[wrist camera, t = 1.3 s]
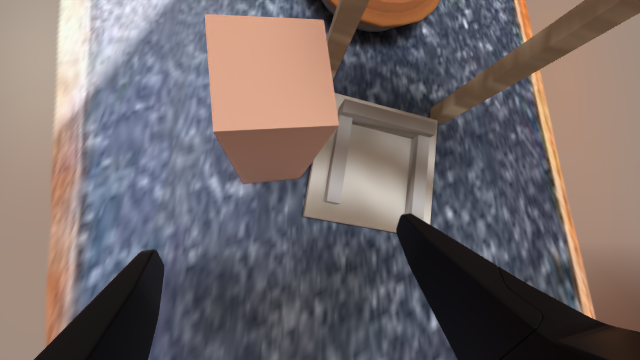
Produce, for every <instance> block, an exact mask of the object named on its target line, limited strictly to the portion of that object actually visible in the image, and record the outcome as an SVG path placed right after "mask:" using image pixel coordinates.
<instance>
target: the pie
mask: <svg viewBox="0 0 640 360" xmlns="http://www.w3.org/2000/svg"><path fill="white" fill-rule="evenodd" d="M439 1H440V0H370V1H369V3H368V5H367V7H366V9H365V11H364V13H363V16H362V18H361V20H360V22H359V24H358V26H357V29H359V30H363V31H366V32H382V31H385V30H388V29H391V28H395V27H399V26H402V25H407V24H411V23H415V22H420V21H422V20H423V19H424V18H425V17H426V16H428V15H429V14H430V13H431V12H432V11H433V10H435V8H436V6H437V5H438V3H439ZM322 2H323V3H324V5H325V6H326V8H327V9H328V10H329V11H330V12H331V13H332V14H333V15H334V14H335V11H336V8H337V5H338V2H339V0H322Z"/></svg>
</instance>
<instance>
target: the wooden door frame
mask: <svg viewBox="0 0 640 360" xmlns="http://www.w3.org/2000/svg"><path fill="white" fill-rule="evenodd" d="M369 1H370V0H339V2H338V5H337V8H336V11H335V14H334V17H333V20H332V23H331V26H330V29H329V32H328V35H327V38H326V39H327V45H328V52H329V59H330V66H331V73H332V80H333V78H334V76H335V74H336V72H337V70H338V68H339V65H340V63H341V61H342V59H343V57H344V55H345V52H346V50H347V48H348V46H349V44H350V42H351V39H352V37H353V35H354V33H355V31H356V29H357V26H358V24H359V22H360V20H361V18H362V16H363V13H364V11H365V9H366V7H367V5H368V3H369ZM638 13H640V0H585V1H583V2H582V3H580V4H579V5H577V6H576V7H575V8H573V9H572V10H570V11H569V12H568V13H566V14H565V15H563V16H562V17H560V18H559V19H558V20H556V21H555V22H554V23H552V24H550V25H549V26H548V27H546V28H545V29H543V30H542V31H540V32H539V33H538V34H536V35H535V36H533V37H532V38H530V39H529V40H528V41H526V42H525V43H523V44H522V45H520V46H519V47H518V48H516V49H515V50H513V51H512V52H510V53H509V54H508V55H506V56H505V57H503V58H502V59H501V60H499V61H498V62H496V63H495V64H493V65H492V66H491V67H489V68H488V69H486V70H485V71H483V72H482V73H481V74H479V75H478V76H476V77H475V78H473V79H472V80H471V81H469V82H468V83H466V84H465V85H463V86H462V87H461V88H459V89H458V90H456V91H455V92H454V93H452V94H451V95H449V96H448V97H446V98H445V99H444V100H442V101H441V102H439V103H438V104H436V105H435V106H434V107H432V108H431V110H430V118H427V117H423V116H419V115H416V114H412V113H408V112H404V111H401V110H397V109H393V108H389V107H386V106H382V105H378V104H374V103H371V102H367V101H363V100H359V99H356V98H352V97H348V96H344V95H341V94H337V93H335V100H336V107H337V114H338V120H339V126H338V128H337V129H336V130H335V132H334V133H333V134H332V136H331V137H330V138H329V140H328V141H327V142H326V144H325V145H324V147H323V148H322V149H321V151H320V152H319V153H318V155H317V156H316V157H315V159H314V160H313V161H312V164H311V169H310V175H309V181H308V186H307V192H306V198H305V203H304V209H303V215H302V216H303V217H308V218H314V219H320V220H325V221H331V222H337V223H342V224H348V225H354V226H360V227H365V228H371V229H377V230H382V231H388V232H394V233H396V228H397V224H398V221H399V218H400V216H401V215H402V214H408V213H411V214H413V215H415V216H416V217H418V218H420V219H421V220H423V221H425V222H426V223H428V224H430V217H431V204H432V190H433V176H434V163H435V149H436V135H437V123H438V124H444V123H446V122H447V121H449V120H451V119H453V118H455V117H456V116H458V115H460V114H462V113H463V112H465V111H467V110H469V109H470V108H472V107H474V106H476V105H478V104H479V103H481V102H483V101H485V100H486V99H488V98H490V97H492V96H493V95H495V94H497V93H499V92H501V91H502V90H504V89H506V88H508V87H509V86H511V85H513V84H515V83H516V82H518V81H520V80H522V79H524V78H525V77H527V76H529V75H531V74H532V73H534V72H536V71H538V70H539V69H541V68H543V67H545V66H546V65H548V64H550V63H552V62H554V61H555V60H557V59H559V58H561V57H562V56H564V55H566V54H568V53H569V52H571V51H573V50H575V49H576V48H578V47H580V46H582V45H584V44H585V43H587V42H589V41H591V40H592V39H594V38H596V37H598V36H600V35H601V34H603V33H605V32H607V31H608V30H610V29H612V28H614V27H615V26H617V25H619V24H621V23H622V22H624V21H626V20H628V19H630V18H631V17H633V16H635V15H637V14H638Z"/></svg>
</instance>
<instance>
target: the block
mask: <svg viewBox="0 0 640 360" xmlns="http://www.w3.org/2000/svg"><path fill="white" fill-rule="evenodd" d="M205 23H206V37H207V51H208V65H209V78H210V92H211V106H212V120H213V132H214V134H215V135H216V137H217V139H218V141H219V142H220V144H221V146H222V148H223V149H224V151H225V153H226V155H227V156H228V158H229V160H230V162H231V163H232V165H233V167H234V169H235V170H236V172H237V174H238V176H239V177H240V179H241V181H242V183H243V184H247V183H257V182H268V181H278V180H289V179H300V178H301V176H302V175H303V174H304V172H305V171H306V169H307V168H308V167H309V165H310V164H311V163H312V161H313V160H314V159H315V157H316V156H317V155H318V153H319V152H320V151H321V149H322V148H323V147H324V145H325V144H326V142H327V141H328V140H329V138H330V137H331V136H332V134H333V133H334V132H335V130H336V129H337V128H338V126H339V120H338V114H337V107H336V100H335V93H334V86H333V80H332V73H331V66H330V59H329V52H328V45H327V39H326V32H325V25H324V20H318V19H296V18H275V17H253V16H232V15H211V14H205Z"/></svg>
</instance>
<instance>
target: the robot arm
mask: <svg viewBox="0 0 640 360" xmlns="http://www.w3.org/2000/svg"><path fill="white" fill-rule="evenodd" d="M396 233H397V236H398V238H399V241H400V243H401V246H402V248H403V251H404V254H405V256H406V259H407V261H408V264H409V266H410V268H411V270H412V272H413V274H414V276H415V278H416V280H417V282H418V284H419V286H420V288H421V290H422V292H423V293H424V295H425V297H426V299H427V301H428V303H429V305H430V307H431V309H432V311H433V313H434V315H435V317H436V319H437V320H438V322H439V324H440V326H441V328H442V330H443V332H444V334H445V336H446V338H447V340H448V342H449V344H450V346H451V347H452V349H453V351H454V353H455V355H456V357H457V359H458V360H640V332H638V331H633V330H628V329H623V328H619V327H615V326H611V325H608V324H605V323H602V322H600V321H597V320H595V319H593V318H590V317H588V316H586V315H584V314H583V313H581V312H579V311H577V310H575V309H573V308H571V307H569V306H568V305H566V304H564V303H562V302H560V301H558V300H556V299H555V298H553V297H551V296H549V295H547V294H545V293H543V292H541V291H540V290H538V289H536V288H534V287H532V286H531V285H529V284H527V283H525V282H524V281H522V280H520V279H518V278H517V277H515V276H513V275H512V274H510V273H508V272H507V271H505V270H503V269H502V268H500V267H498V266H497V265H495V264H493V263H492V262H490V261H489V260H487V259H485V258H484V257H482V256H480V255H479V254H477V253H475V252H474V251H472V250H471V249H469V248H467V247H466V246H464V245H462V244H461V243H459V242H457V241H456V240H454V239H452V238H451V237H449V236H448V235H446V234H444V233H443V232H441V231H439V230H438V229H436V228H434V227H433V226H431V225H430V224H428V223H426V222H425V221H423V220H421V219H420V218H418V217H416V216H415V215H413V214H411V213H408V214H402V215H401V216H400V218H399V221H398V224H397V228H396ZM163 277H164V264H163V262H162V260H161V258H160V256H159V254H158V252H157V251H156V250H154V249H153V250H145V251H141V252H140V253H139V254H138V255H137V256H136V257H135V258H134V259H133V260H132V261H131V262H130V263H129V264H128V265H127V266H126V267H125V268H124V269H123V270H122V271H121V272H120V273H119V274H118V275H117V276H116V277H115V278H114V279H113V280H112V281H111V282H110V283H109V284H108V285H107V286H106V287H105V288H104V289H103V290H102V291H101V292H100V293H99V294H98V295H97V296H96V297H95V298H94V299H93V300H92V301H91V302H90V303H89V304H88V305H87V306H86V307H85V308H84V309H83V310H82V311H81V312H80V313H79V314H78V315H77V316H76V317H75V318H74V319H73V320H72V321H71V322H70V324H69V325H68V326H67V327H66V328H65V329H64V330H63V331H62V332H61V333H60V334H59V335H58V336H57V337H56V338H55V339H54V340H53V341H52V342H51V343H50V344H49V345H48V346H47V347H46V348H45V349H44V350H43V351H42V352H41V353H40V354H39V355H38V356H37V357H36V358H35V359H34V360H148V357H149V353H150V349H151V345H152V341H153V337H154V333H155V329H156V325H157V321H158V316H159V309H160V301H161V293H162V285H163Z"/></svg>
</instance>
